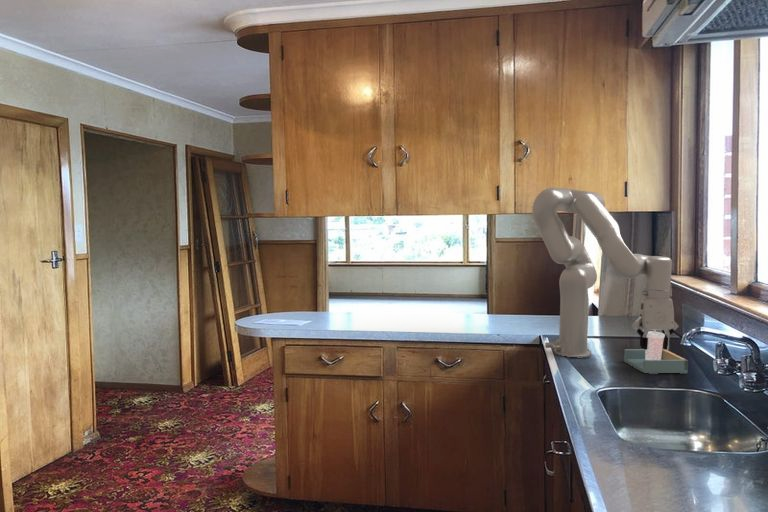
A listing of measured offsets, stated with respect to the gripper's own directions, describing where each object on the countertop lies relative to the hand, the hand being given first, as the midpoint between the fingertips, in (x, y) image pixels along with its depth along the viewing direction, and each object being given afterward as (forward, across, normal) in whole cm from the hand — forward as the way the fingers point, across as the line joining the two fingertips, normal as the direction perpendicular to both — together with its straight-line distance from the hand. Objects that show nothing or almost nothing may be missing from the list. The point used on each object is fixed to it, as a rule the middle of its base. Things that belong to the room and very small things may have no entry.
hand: (653, 348), depth 192 cm
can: (+7, +11, +17) cm, 21 cm away
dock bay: (+6, +1, 0) cm, 6 cm away
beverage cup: (+4, 0, 0) cm, 4 cm away
